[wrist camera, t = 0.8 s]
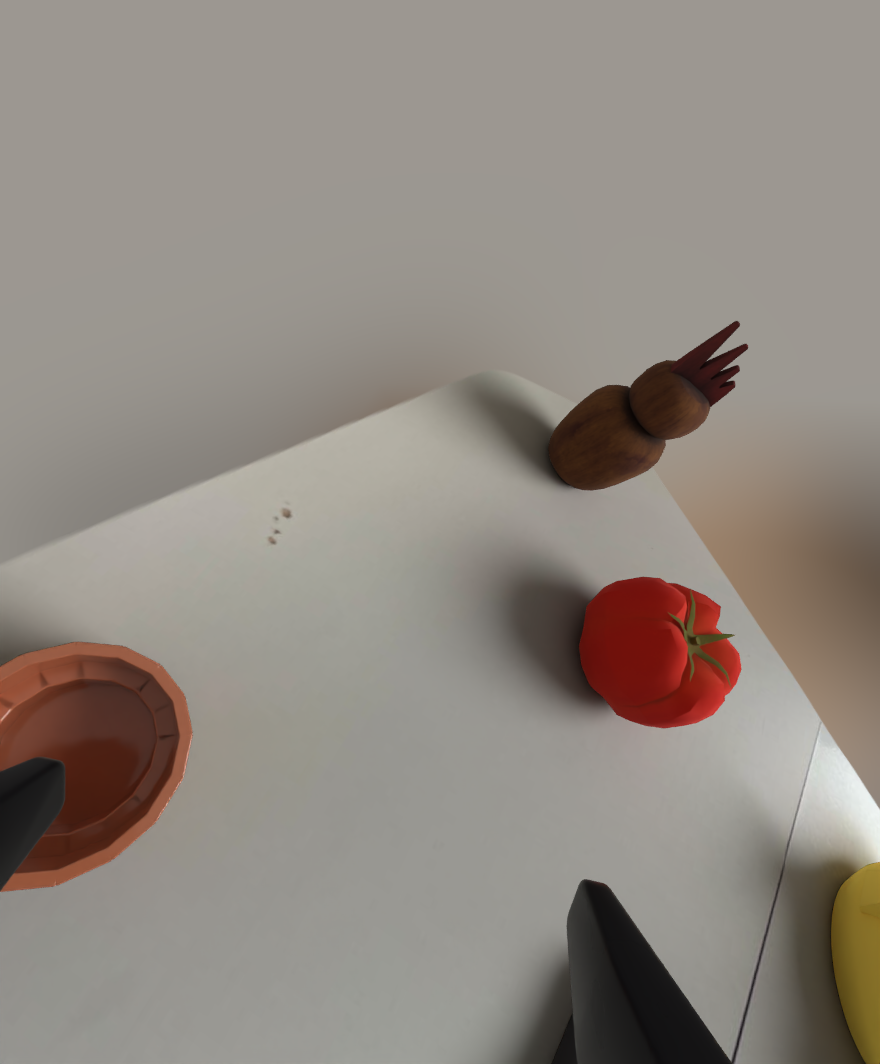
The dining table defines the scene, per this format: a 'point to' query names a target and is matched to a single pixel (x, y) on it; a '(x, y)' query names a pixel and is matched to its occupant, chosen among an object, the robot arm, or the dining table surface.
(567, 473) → the wooden figurine
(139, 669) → the bowl
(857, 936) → the teapot
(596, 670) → the tomato
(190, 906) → the dining table surface
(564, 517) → the dining table surface
